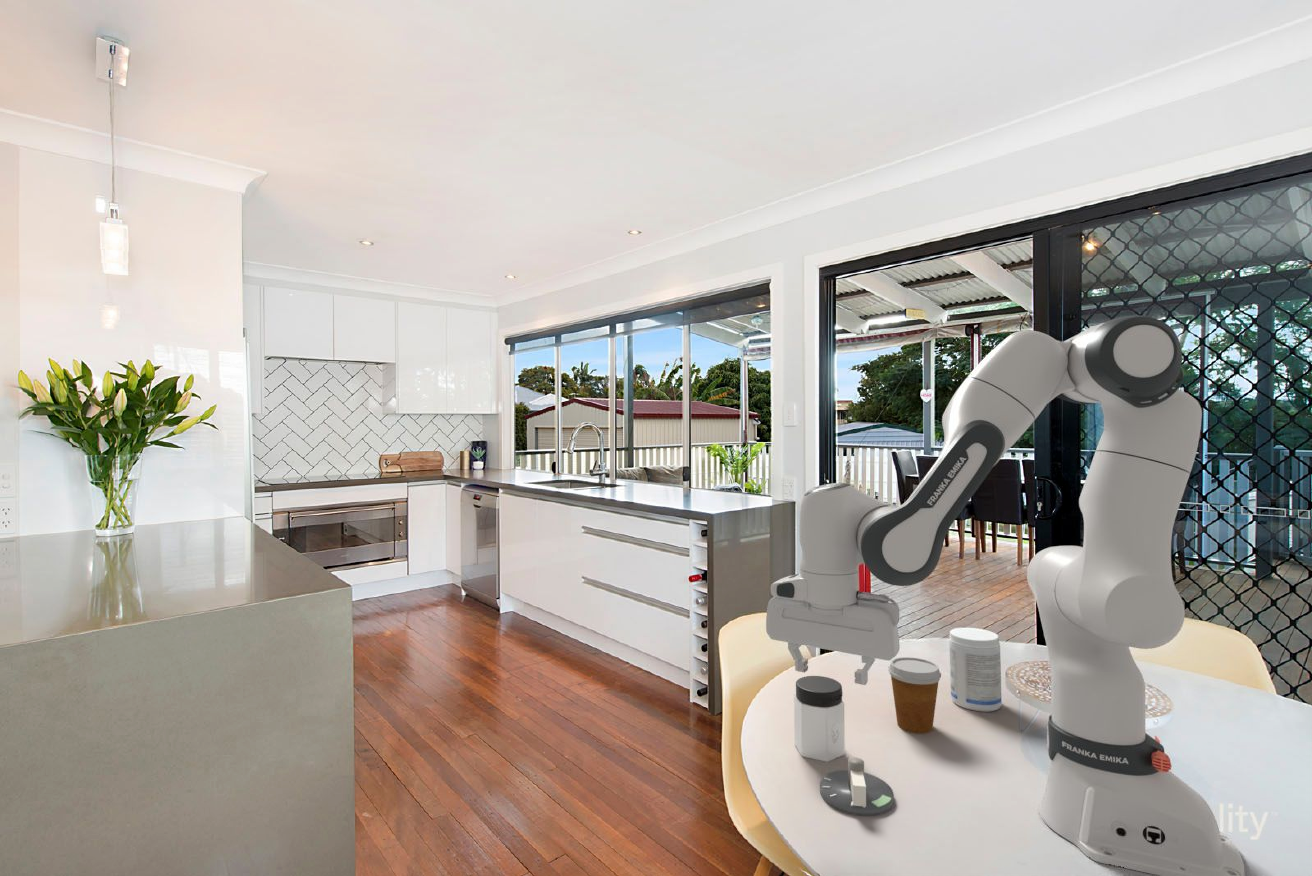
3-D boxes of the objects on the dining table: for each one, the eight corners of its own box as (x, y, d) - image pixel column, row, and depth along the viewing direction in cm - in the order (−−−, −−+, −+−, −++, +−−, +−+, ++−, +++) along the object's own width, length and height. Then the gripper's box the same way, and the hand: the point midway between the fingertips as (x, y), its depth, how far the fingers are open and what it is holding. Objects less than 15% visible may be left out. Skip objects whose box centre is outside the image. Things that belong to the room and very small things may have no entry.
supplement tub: (1010, 705, 132) (1009, 634, 132) (987, 718, 126) (986, 644, 126) (964, 690, 140) (963, 624, 140) (940, 701, 134) (940, 632, 134)
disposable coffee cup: (890, 734, 120) (889, 671, 120) (887, 713, 129) (886, 654, 129) (945, 741, 117) (944, 676, 117) (938, 719, 126) (937, 658, 126)
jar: (819, 767, 108) (818, 697, 108) (785, 747, 115) (784, 682, 115) (854, 752, 113) (853, 685, 113) (819, 734, 120) (818, 671, 120)
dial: (901, 791, 101) (901, 782, 101) (882, 826, 92) (882, 817, 92) (833, 770, 107) (833, 762, 107) (809, 802, 98) (809, 793, 98)
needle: (847, 782, 101) (847, 756, 101) (863, 783, 100) (863, 758, 100) (851, 805, 94) (851, 778, 94) (868, 807, 94) (868, 780, 94)
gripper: (904, 592, 95) (905, 684, 95) (777, 576, 107) (778, 658, 107) (893, 601, 90) (894, 698, 90) (761, 584, 102) (762, 670, 102)
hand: (830, 676), depth 99 cm, fingers open, 8 cm apart
